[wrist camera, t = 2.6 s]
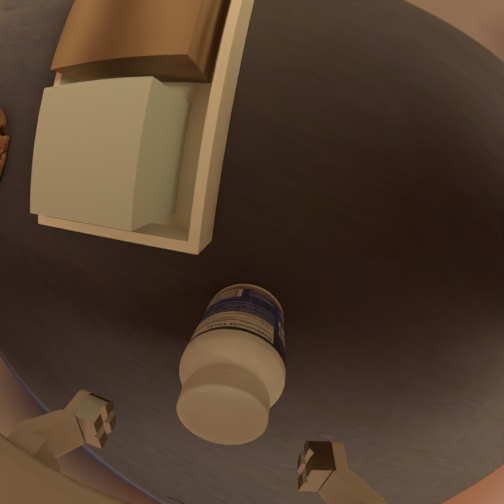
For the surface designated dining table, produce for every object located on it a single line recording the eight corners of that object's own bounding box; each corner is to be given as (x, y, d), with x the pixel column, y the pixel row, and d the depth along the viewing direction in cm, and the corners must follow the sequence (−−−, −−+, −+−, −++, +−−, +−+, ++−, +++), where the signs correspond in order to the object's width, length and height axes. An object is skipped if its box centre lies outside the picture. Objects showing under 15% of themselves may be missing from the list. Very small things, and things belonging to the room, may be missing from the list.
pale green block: (191, 104, 16) (152, 76, 11) (174, 213, 18) (130, 231, 12) (99, 104, 17) (44, 88, 11) (87, 200, 18) (30, 212, 13)
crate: (263, -40, 13) (260, -67, 10) (211, 240, 19) (197, 254, 16) (123, -29, 14) (105, -47, 10) (67, 215, 20) (38, 223, 16)
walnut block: (238, -30, 13) (227, -71, 8) (210, 83, 16) (187, 54, 11) (128, -19, 14) (99, -49, 9) (93, 85, 16) (50, 69, 11)
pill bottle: (270, 357, 21) (262, 463, 12) (200, 336, 21) (155, 432, 12) (295, 294, 20) (306, 393, 10) (218, 270, 20) (169, 352, 10)
